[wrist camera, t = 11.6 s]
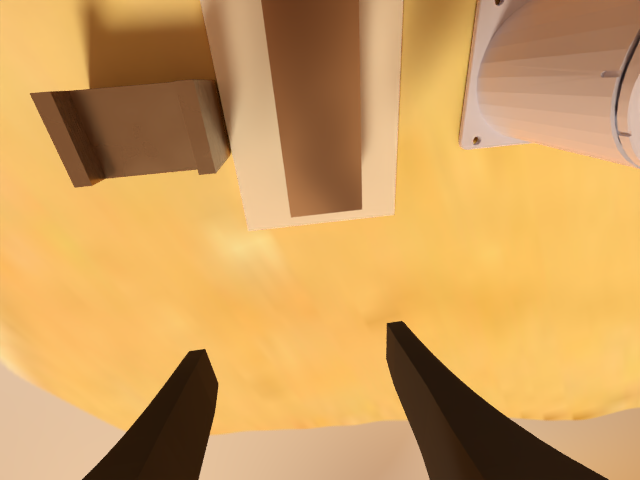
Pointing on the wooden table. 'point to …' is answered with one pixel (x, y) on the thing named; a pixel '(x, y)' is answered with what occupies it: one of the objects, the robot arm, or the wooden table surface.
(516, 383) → the wooden table surface
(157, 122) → the post
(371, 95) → the felt pad
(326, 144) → the rail
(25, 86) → the wooden table surface
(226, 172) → the wooden table surface
